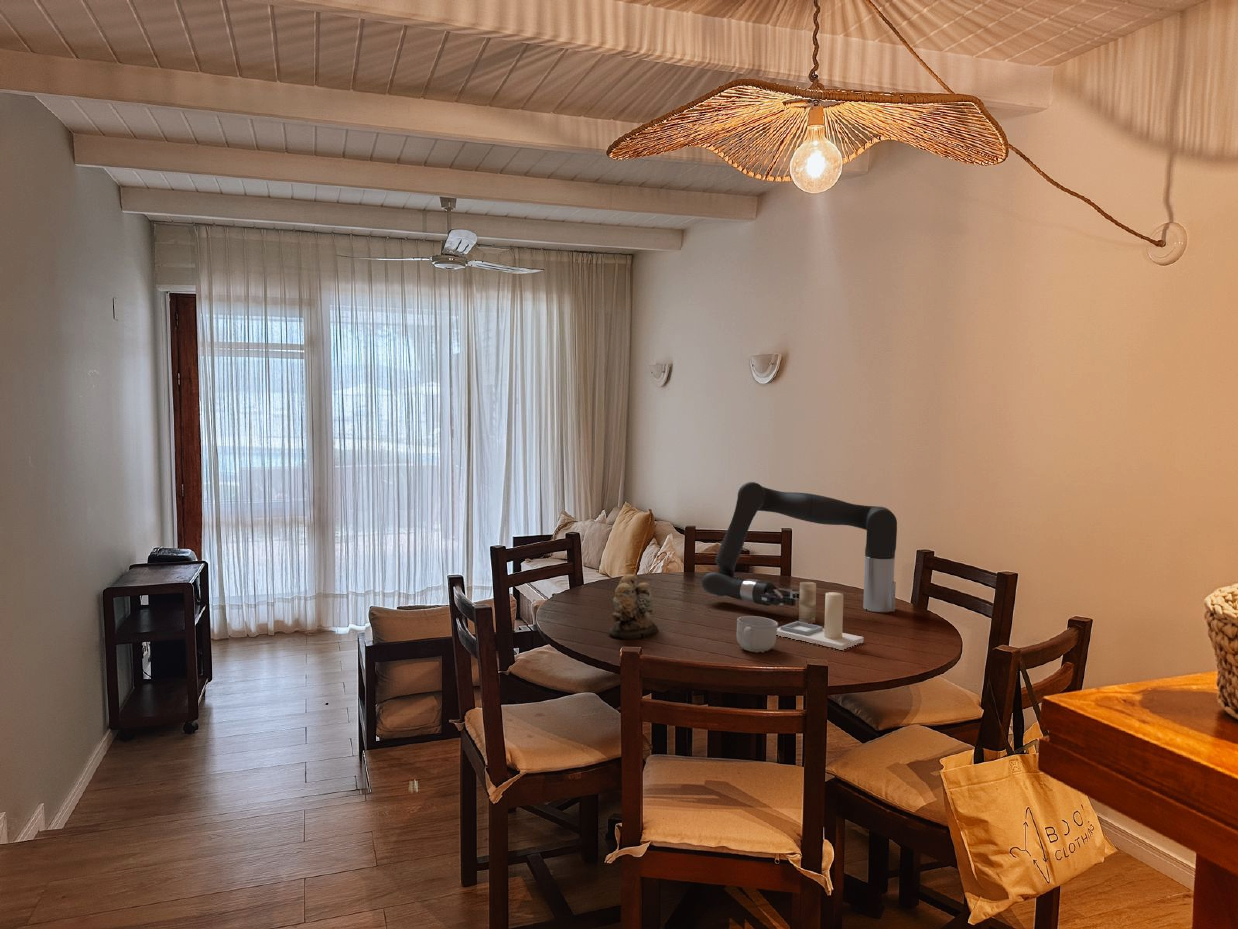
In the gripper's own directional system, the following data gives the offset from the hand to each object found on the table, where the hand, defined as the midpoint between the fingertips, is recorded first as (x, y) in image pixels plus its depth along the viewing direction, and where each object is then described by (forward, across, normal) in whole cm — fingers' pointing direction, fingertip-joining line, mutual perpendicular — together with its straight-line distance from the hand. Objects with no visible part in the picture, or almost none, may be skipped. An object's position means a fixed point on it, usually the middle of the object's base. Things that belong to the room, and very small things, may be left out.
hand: (802, 600), depth 252 cm
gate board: (+13, -14, +6) cm, 20 cm away
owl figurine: (-26, -47, +7) cm, 55 cm away
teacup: (+8, -37, +7) cm, 38 cm away
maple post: (+2, 0, +6) cm, 7 cm away
